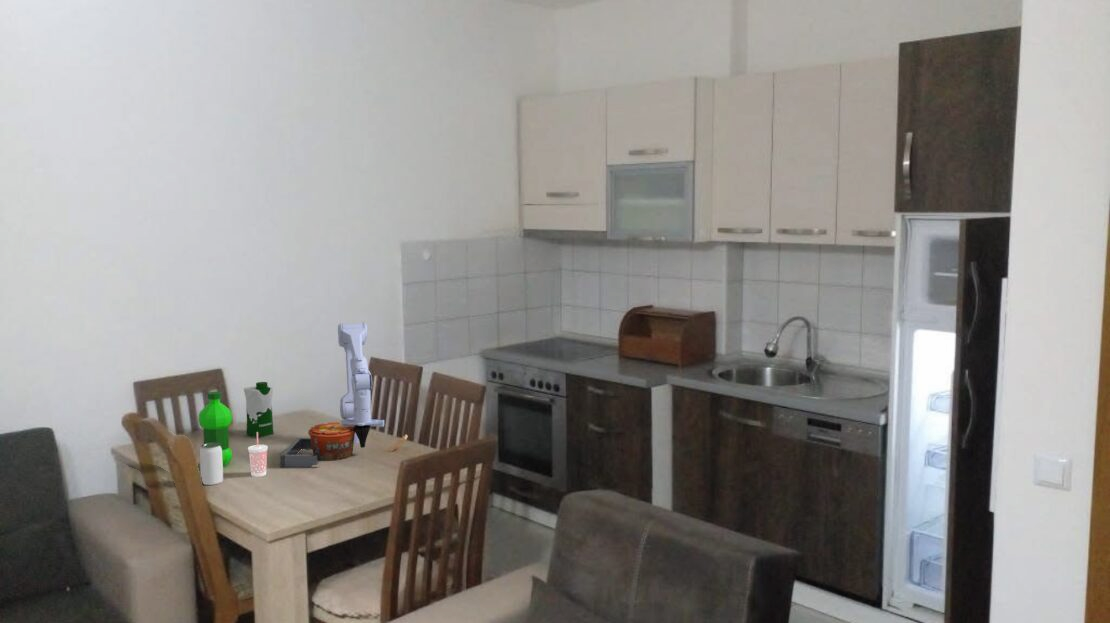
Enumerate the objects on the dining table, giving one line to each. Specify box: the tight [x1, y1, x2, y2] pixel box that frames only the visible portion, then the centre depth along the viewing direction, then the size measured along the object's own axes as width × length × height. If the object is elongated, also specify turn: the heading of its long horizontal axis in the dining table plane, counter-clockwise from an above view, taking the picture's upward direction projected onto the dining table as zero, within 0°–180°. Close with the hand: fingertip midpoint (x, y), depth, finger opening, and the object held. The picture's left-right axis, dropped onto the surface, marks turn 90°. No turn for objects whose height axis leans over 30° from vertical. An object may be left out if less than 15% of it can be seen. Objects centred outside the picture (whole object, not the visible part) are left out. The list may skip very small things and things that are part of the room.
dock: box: [279, 437, 319, 469], centre depth 299 cm, size 22×12×4 cm, turn 2°
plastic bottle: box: [198, 390, 233, 469], centre depth 287 cm, size 10×10×25 cm
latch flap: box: [387, 434, 409, 452], centre depth 307 cm, size 5×8×1 cm
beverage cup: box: [247, 432, 269, 478], centre depth 281 cm, size 6×6×14 cm
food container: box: [307, 421, 355, 462], centre depth 299 cm, size 16×16×11 cm
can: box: [199, 443, 224, 486], centre depth 272 cm, size 6×6×12 cm
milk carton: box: [243, 381, 274, 438], centre depth 327 cm, size 9×9×20 cm
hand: (362, 446), depth 300 cm, fingers closed
